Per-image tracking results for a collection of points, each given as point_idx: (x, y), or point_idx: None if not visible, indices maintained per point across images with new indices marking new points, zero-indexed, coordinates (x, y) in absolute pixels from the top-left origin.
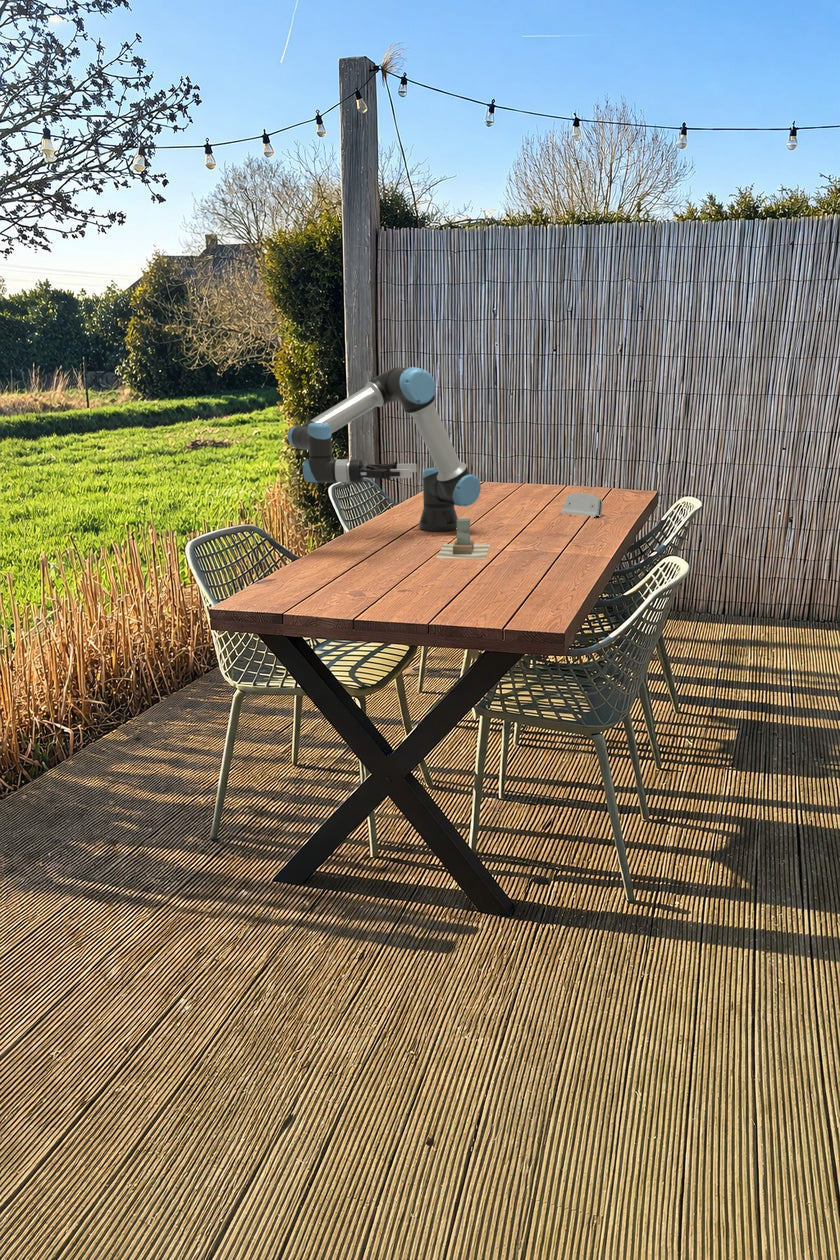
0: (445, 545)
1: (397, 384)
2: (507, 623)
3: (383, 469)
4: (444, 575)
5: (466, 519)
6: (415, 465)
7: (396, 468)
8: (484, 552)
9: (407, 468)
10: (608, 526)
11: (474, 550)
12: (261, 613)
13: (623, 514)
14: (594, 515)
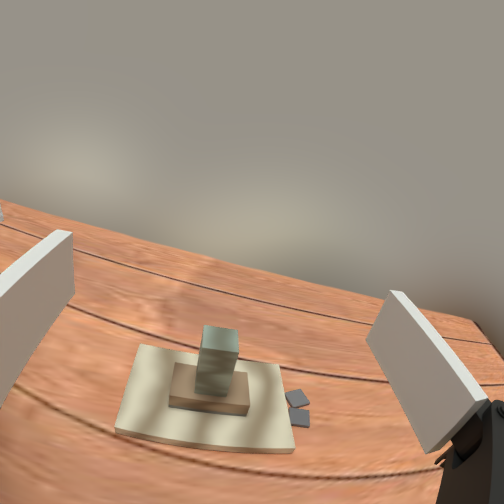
0: (133, 425)
1: None
2: (481, 342)
3: (495, 474)
4: (386, 420)
5: (220, 332)
6: (71, 246)
7: None
8: None
9: (37, 307)
10: (46, 223)
11: None
12: None
13: (4, 206)
14: (2, 216)
